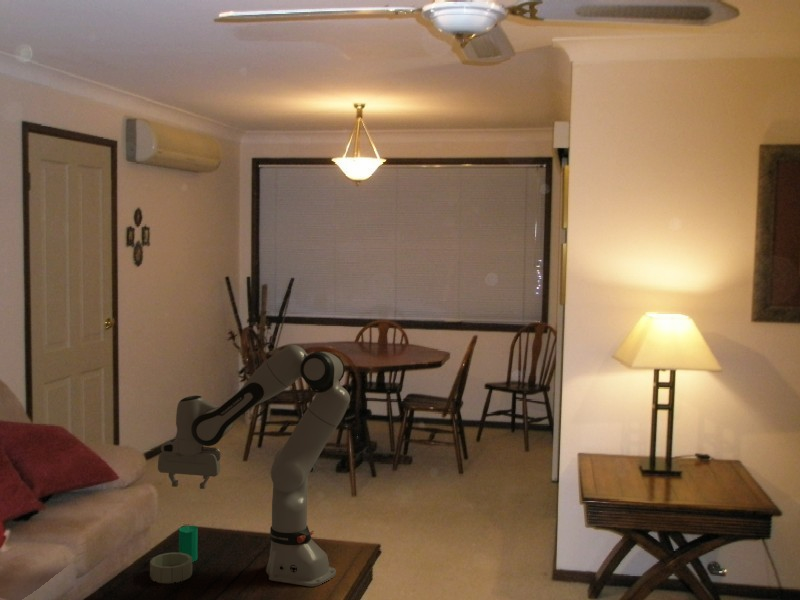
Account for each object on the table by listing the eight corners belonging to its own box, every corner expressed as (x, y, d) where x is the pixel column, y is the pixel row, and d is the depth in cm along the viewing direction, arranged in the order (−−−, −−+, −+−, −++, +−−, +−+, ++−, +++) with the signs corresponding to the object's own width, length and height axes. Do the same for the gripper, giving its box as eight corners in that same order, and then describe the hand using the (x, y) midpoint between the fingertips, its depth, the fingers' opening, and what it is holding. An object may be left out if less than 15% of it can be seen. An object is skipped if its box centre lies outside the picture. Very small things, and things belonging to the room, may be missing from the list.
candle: (201, 558, 279) (201, 522, 278) (189, 564, 274) (189, 528, 273) (186, 555, 282) (186, 519, 281) (174, 561, 276) (174, 525, 275)
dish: (200, 572, 268) (200, 557, 267) (172, 586, 257) (172, 571, 257) (170, 564, 274) (170, 549, 273) (142, 577, 263) (141, 562, 262)
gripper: (223, 445, 277) (222, 487, 278) (164, 441, 279) (163, 482, 281) (217, 450, 271) (216, 492, 272) (156, 445, 273) (155, 487, 274)
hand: (188, 487), depth 276 cm, fingers open, 8 cm apart
